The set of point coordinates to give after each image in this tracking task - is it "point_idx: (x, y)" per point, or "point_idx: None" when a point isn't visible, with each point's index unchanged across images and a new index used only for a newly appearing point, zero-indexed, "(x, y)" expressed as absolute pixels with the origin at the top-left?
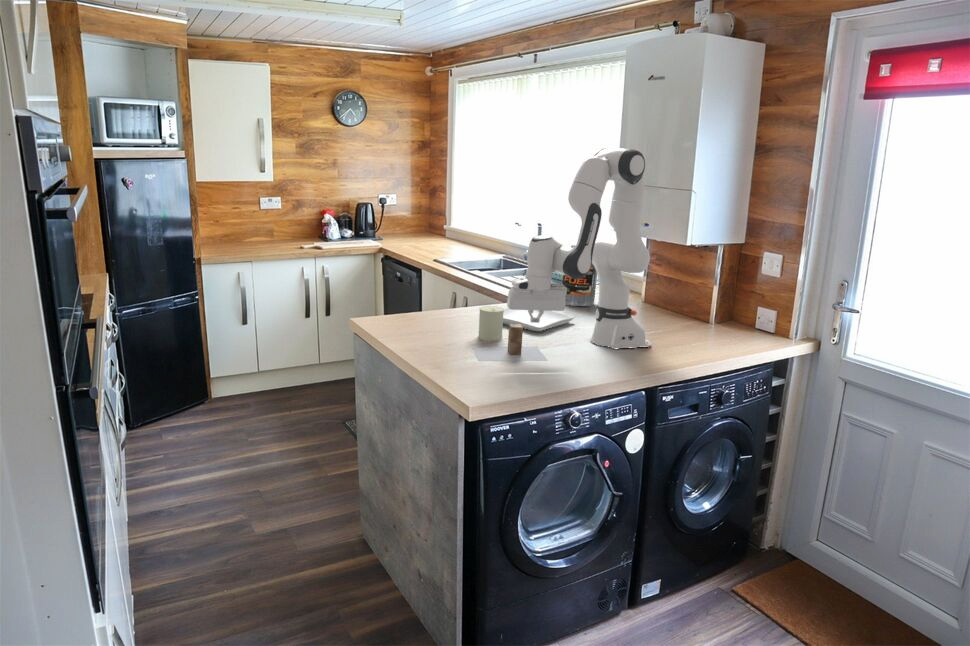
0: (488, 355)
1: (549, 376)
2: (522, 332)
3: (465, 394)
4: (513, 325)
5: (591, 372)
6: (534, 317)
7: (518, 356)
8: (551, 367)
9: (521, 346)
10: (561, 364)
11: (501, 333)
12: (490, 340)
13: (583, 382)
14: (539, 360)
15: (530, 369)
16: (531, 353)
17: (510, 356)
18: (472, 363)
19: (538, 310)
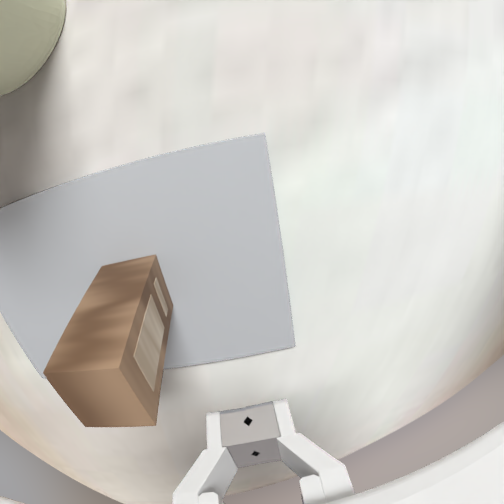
0: (46, 328)
1: None
2: (158, 396)
3: (109, 492)
4: (80, 396)
5: (404, 388)
6: (247, 458)
7: None
8: (296, 390)
9: (167, 333)
10: (341, 357)
11: (38, 29)
12: (5, 92)
13: (352, 443)
14: (258, 353)
15: None
16: (226, 273)
17: None
18: (36, 385)
19: (302, 497)
